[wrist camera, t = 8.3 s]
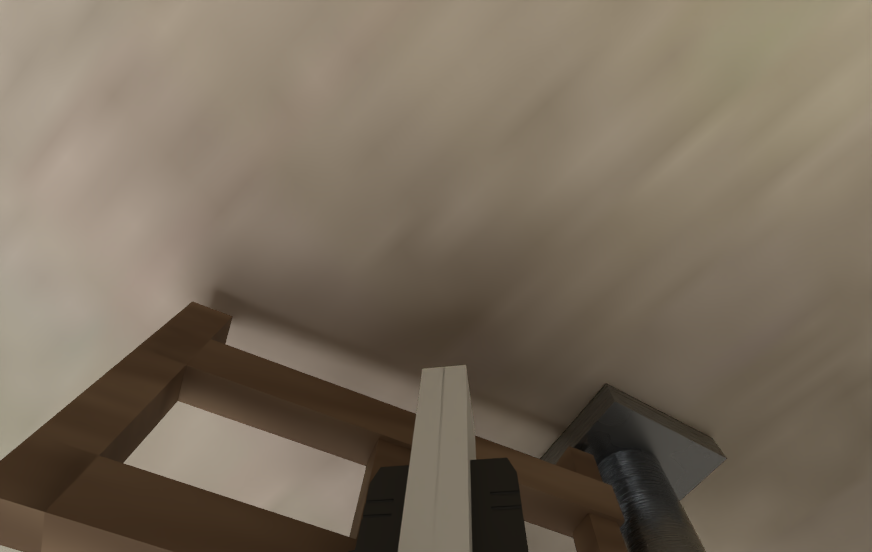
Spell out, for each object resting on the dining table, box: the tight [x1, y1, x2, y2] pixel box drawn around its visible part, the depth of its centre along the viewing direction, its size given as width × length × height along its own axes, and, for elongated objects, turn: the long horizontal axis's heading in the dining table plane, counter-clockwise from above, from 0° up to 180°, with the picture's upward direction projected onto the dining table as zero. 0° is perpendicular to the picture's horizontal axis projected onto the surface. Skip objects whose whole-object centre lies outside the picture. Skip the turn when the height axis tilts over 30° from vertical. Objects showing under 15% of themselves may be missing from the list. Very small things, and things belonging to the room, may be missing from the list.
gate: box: [0, 302, 628, 552], centre depth 15 cm, size 2×18×9 cm, turn 67°
